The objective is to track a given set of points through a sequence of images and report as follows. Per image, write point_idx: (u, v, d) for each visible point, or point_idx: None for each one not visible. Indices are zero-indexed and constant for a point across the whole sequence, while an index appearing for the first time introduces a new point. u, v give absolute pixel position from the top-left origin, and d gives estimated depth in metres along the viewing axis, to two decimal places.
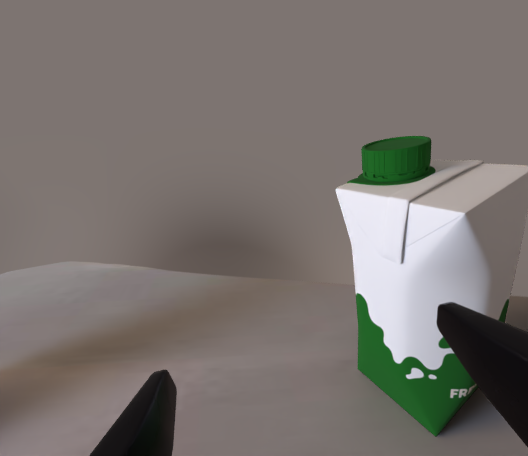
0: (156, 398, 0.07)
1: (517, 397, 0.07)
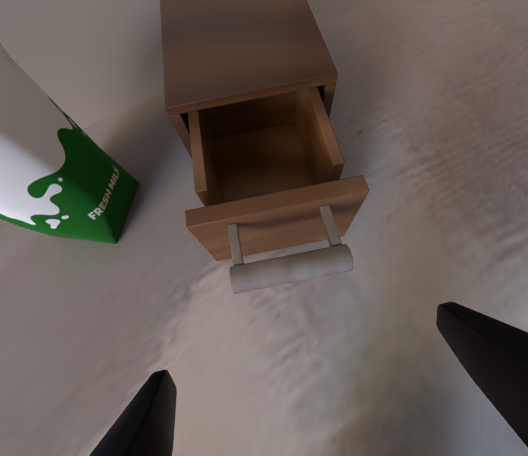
0: (156, 398, 0.07)
1: (517, 397, 0.07)
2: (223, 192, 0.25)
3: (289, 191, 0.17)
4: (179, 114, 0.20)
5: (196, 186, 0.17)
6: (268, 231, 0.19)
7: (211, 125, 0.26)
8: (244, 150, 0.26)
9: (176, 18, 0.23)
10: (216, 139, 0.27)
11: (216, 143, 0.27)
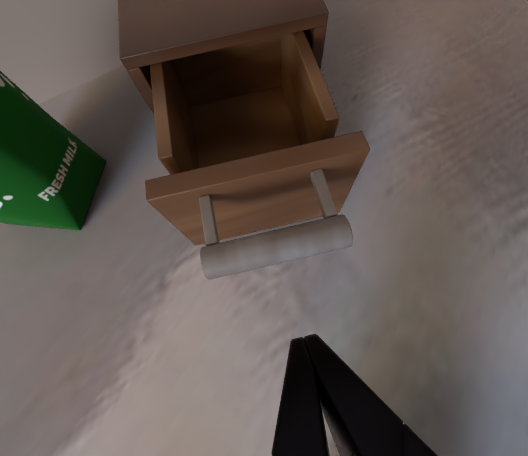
0: None
1: (344, 439, 0.06)
2: (200, 167, 0.21)
3: (272, 153, 0.13)
4: (138, 68, 0.16)
5: (159, 151, 0.14)
6: (251, 205, 0.16)
7: (184, 90, 0.22)
8: (223, 118, 0.23)
9: None
10: (192, 108, 0.24)
11: (192, 112, 0.23)
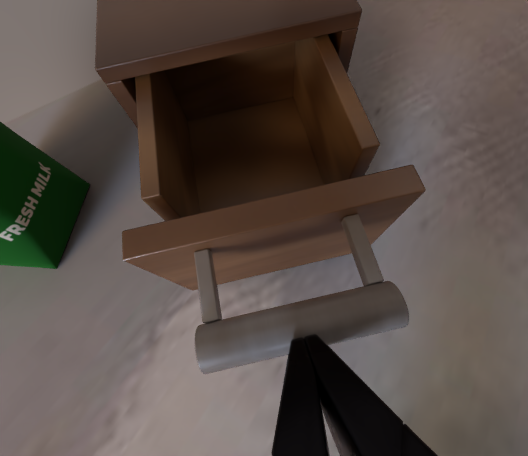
0: None
1: (344, 439, 0.06)
2: (199, 194, 0.18)
3: (293, 194, 0.10)
4: (120, 80, 0.13)
5: (143, 189, 0.11)
6: (262, 253, 0.13)
7: (180, 102, 0.19)
8: (226, 135, 0.20)
9: None
10: (189, 122, 0.20)
11: (189, 128, 0.20)
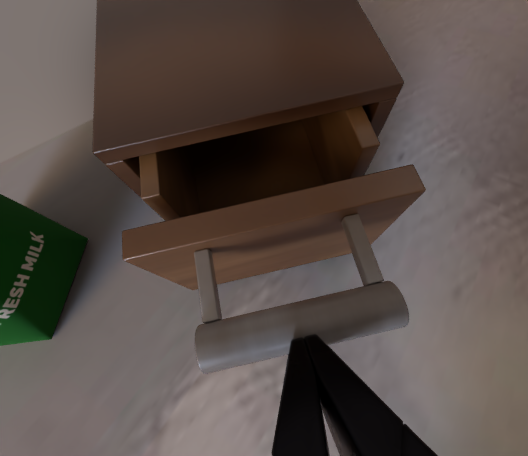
0: None
1: (344, 439, 0.06)
2: (199, 193, 0.18)
3: (293, 194, 0.10)
4: (122, 160, 0.11)
5: (142, 189, 0.11)
6: (262, 253, 0.13)
7: None
8: None
9: None
10: None
11: None
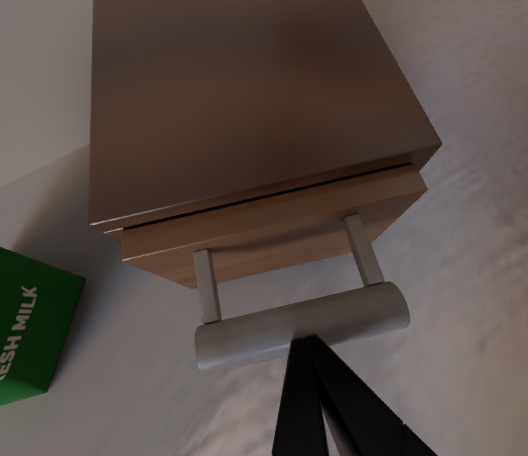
0: None
1: (344, 439, 0.06)
2: None
3: (293, 194, 0.10)
4: (122, 228, 0.10)
5: None
6: (261, 252, 0.12)
7: None
8: None
9: (120, 24, 0.13)
10: None
11: None
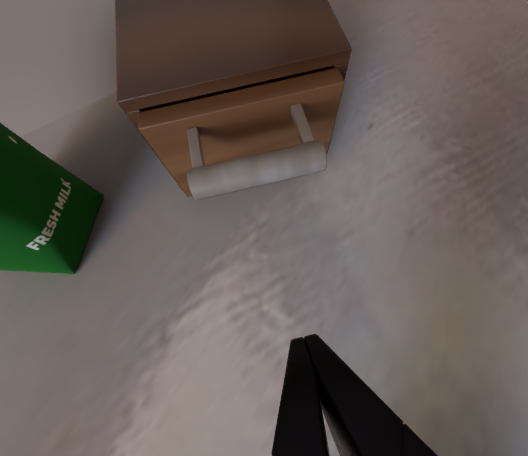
0: None
1: (344, 439, 0.06)
2: None
3: (255, 87, 0.15)
4: (138, 110, 0.14)
5: None
6: (237, 146, 0.17)
7: None
8: None
9: None
10: None
11: None
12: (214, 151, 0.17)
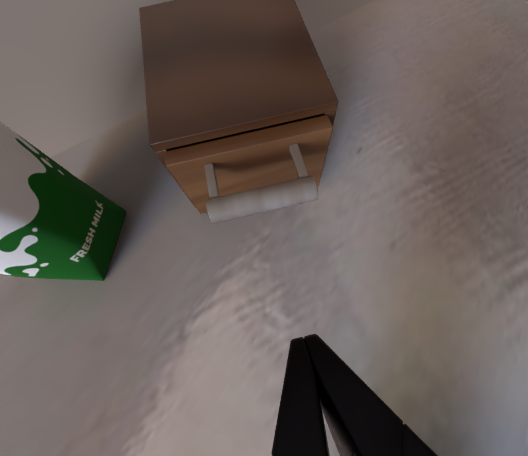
0: None
1: (344, 439, 0.06)
2: None
3: (260, 131, 0.18)
4: (165, 149, 0.18)
5: None
6: (244, 175, 0.20)
7: None
8: None
9: (158, 37, 0.21)
10: None
11: None
12: (225, 179, 0.20)
